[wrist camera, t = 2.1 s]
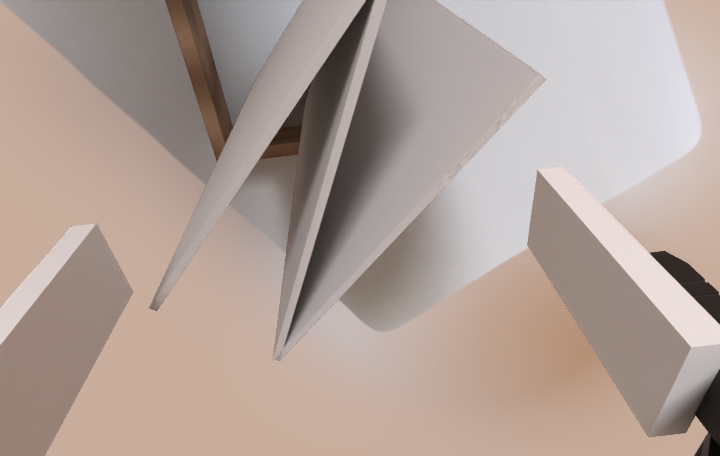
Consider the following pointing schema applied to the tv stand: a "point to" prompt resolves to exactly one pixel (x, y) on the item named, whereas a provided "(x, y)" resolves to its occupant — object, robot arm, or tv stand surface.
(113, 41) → the tv stand surface
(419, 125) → the brochure
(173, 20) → the rack
